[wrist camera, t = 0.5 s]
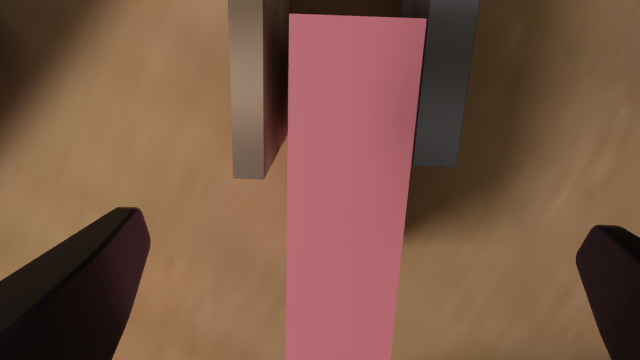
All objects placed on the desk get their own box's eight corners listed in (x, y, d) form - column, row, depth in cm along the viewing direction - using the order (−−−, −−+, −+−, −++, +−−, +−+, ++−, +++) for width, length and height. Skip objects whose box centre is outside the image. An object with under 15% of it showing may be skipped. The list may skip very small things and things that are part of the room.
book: (365, 249, 28) (389, 368, 17) (300, 247, 28) (284, 363, 17) (381, 36, 23) (427, 18, 13) (305, 33, 23) (288, 12, 13)
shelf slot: (421, 138, 25) (479, 187, 15) (268, 132, 25) (233, 178, 16) (442, -48, 22) (531, -130, 12) (268, -54, 22) (223, -140, 12)
